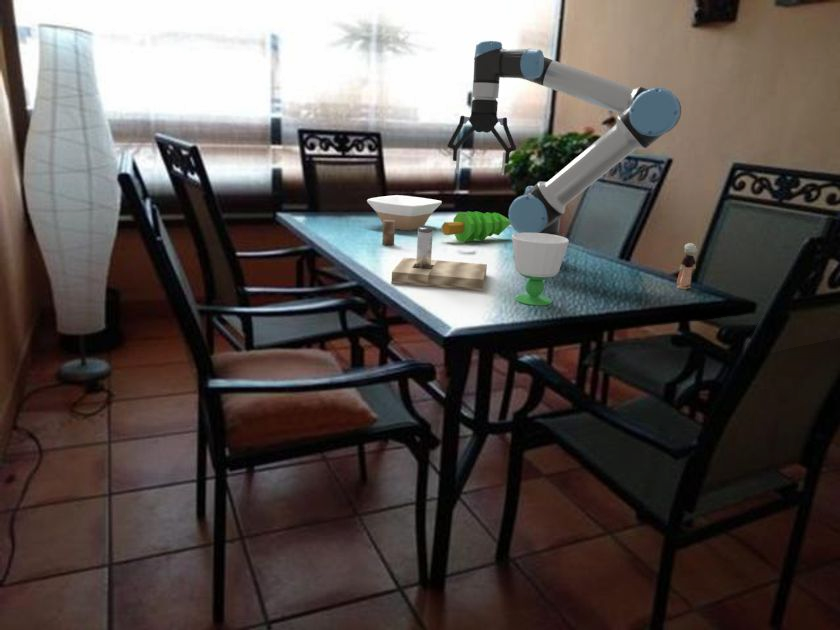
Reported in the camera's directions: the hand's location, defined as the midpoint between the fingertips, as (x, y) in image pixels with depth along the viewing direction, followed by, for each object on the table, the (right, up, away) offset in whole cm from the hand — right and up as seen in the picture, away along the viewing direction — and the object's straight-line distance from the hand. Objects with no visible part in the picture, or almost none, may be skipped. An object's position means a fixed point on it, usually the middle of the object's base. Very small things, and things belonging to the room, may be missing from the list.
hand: (479, 173), depth 191 cm
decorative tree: (+4, -15, +41) cm, 44 cm away
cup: (+10, -39, -33) cm, 52 cm away
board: (-12, -32, -16) cm, 38 cm away
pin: (-17, -31, -16) cm, 39 cm away
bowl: (-24, -8, +60) cm, 65 cm away
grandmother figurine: (+56, -35, -12) cm, 67 cm away
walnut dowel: (-29, -18, +26) cm, 43 cm away
